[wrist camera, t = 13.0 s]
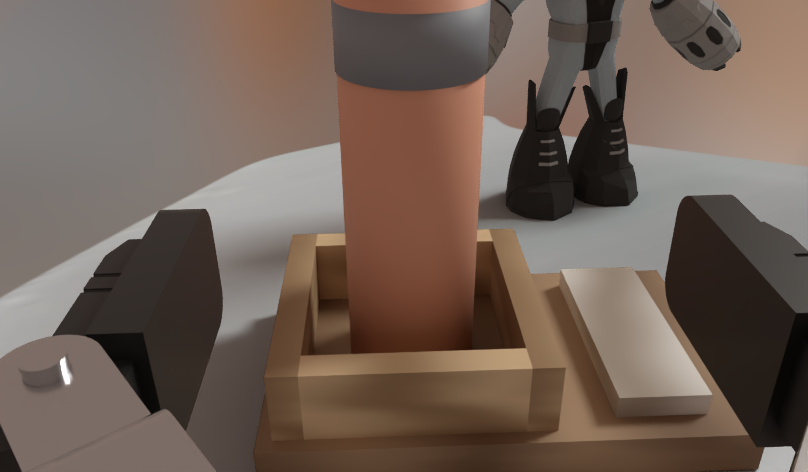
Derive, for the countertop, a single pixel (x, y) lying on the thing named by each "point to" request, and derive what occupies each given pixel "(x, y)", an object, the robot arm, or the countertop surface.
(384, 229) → the banded orange cylinder
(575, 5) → the robot
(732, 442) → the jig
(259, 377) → the countertop surface
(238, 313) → the countertop surface
